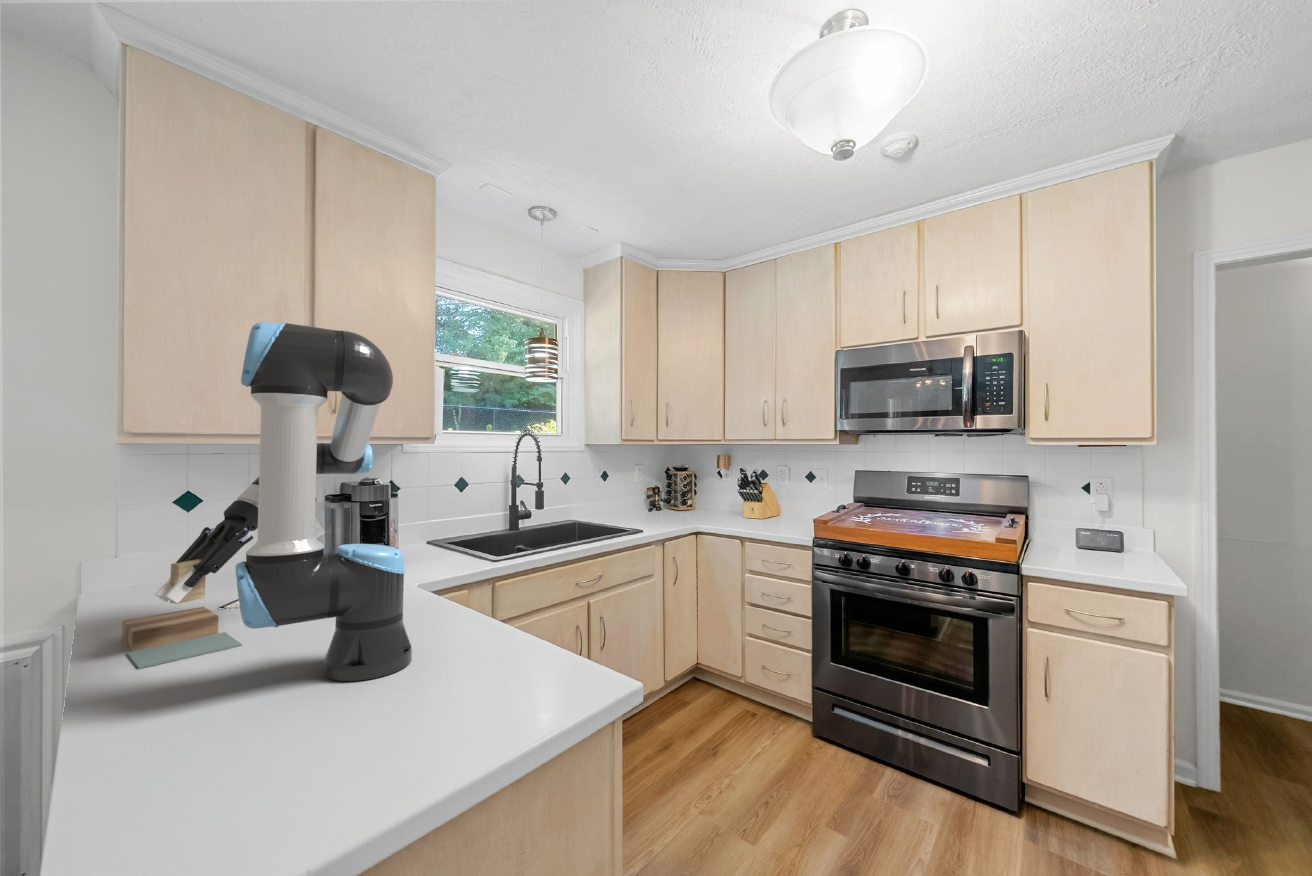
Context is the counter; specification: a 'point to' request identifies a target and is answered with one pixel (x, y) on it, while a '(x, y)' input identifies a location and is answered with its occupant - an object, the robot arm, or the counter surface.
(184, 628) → the walnut block
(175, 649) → the rubber mat
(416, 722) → the counter surface
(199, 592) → the birch block
